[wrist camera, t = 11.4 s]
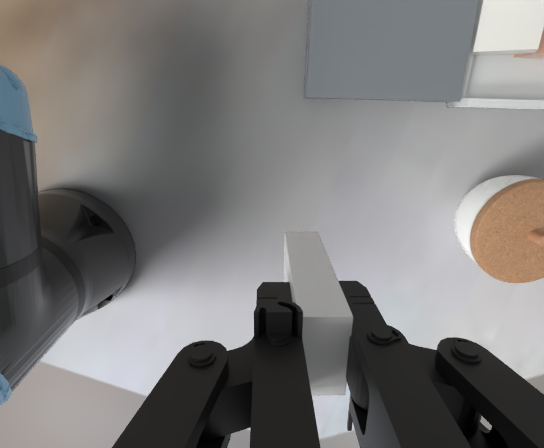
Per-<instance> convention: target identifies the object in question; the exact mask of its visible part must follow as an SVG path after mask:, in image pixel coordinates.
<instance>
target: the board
mask: <svg viewBox="0 0 544 448" xmlns="http://www.w3.org/2000/svg"><path fill="white" fill-rule="evenodd" d="M478 4H479V0H309V9H308V28H307V46H306V65H305V84H304V98H327V99H362V100H398V101H433V102H460V97H461V91H462V86H463V81H464V76H465V71H466V66H467V60H468V55H469V50H470V45H471V40H472V35H473V29H474V24H475V19H476V14H477V9H478Z"/></svg>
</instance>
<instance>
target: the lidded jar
mask: <svg viewBox="0 0 544 448" xmlns="http://www.w3.org/2000/svg"><path fill="white" fill-rule="evenodd" d="M454 228H455V233H456V237H457V239H458V242H459V244H460V245H461V247H462V248H463V250H464V251H465V252H466V254H467V255H468V256H469V257H470V258H471V259H472V260H473V261H474V262H475V263H477V264H478V265H479V266H480V267H481V268H482V269H483V270H484V271H485V272H486V273H487V274H489V275H490V276H492V277H494V278H496V279H498V280H500V281H504V282H509V283H525V282H530V281H535V280H538V279H541V278H543V277H544V179H541V178H537V177H532V176H522V175H509V176H500V177H496V178H492V179H489V180H487V181H484V182H482V183H480V184H479V185H477V186H476V187H474V188H473V189H472V190H470V191H469V192H468V193H467V194H466V195H465V197H464V198H463V199H462V201H461V202H460V204H459V206H458V208H457V211H456V214H455V221H454Z"/></svg>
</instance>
